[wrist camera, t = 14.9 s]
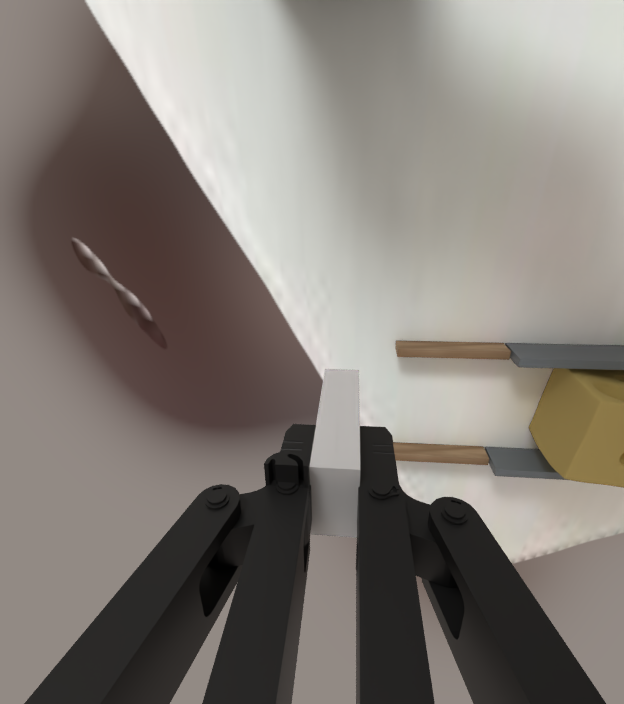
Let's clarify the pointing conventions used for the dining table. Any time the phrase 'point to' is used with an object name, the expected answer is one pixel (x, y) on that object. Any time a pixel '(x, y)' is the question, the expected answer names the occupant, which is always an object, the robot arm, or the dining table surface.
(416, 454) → the lane rails
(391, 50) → the dining table surface
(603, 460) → the cheese
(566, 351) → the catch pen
